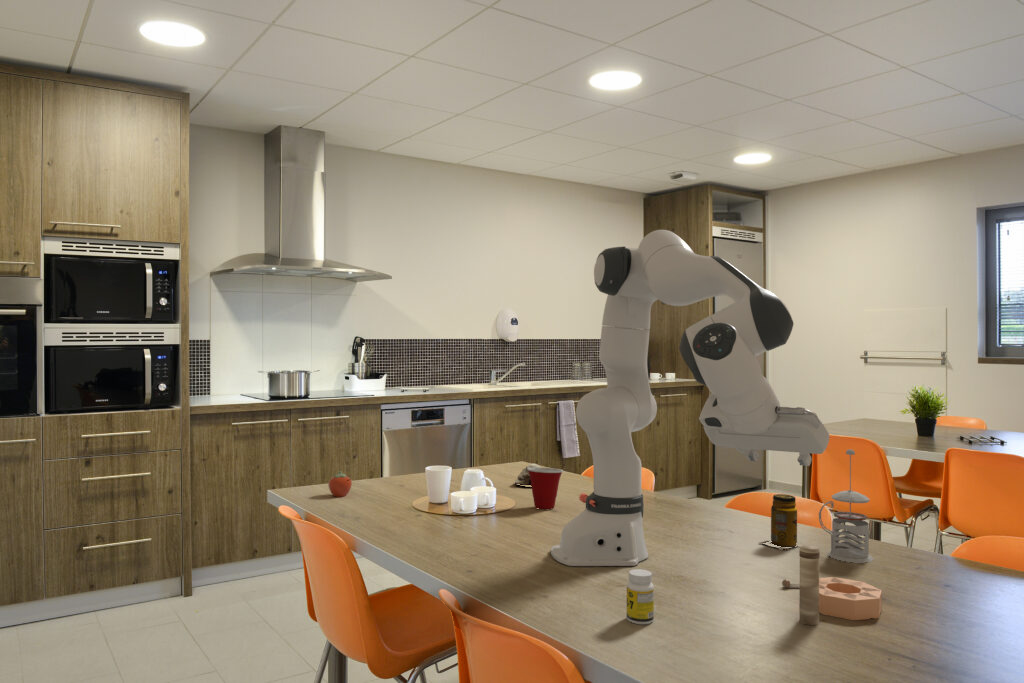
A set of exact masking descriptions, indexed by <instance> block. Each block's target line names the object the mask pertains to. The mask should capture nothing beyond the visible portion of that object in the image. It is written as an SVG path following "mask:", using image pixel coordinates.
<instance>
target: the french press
mask: <svg viewBox="0 0 1024 683" xmlns="http://www.w3.org/2000/svg"><path fill="white" fill-rule="evenodd" d="M845 454H846V455H849V489H848V490H841V491H839V492H836V493H834V494H832V495H831V498H832V500H835V501H838V502H841V503H842V502H843V503H848V504H849V511H836V512H833V516H834V517H835V518H833V519H832V522H831V527H832V528H831V530H830V529H828V528H827V527H826V526H825V525H824V523H823V520H822V512H823V509H824V507H825V506H827V505H829V504H830V507H831V509H833V508H834V506H835V505H834V504H835V503H834V501H832V500H830V501H827V502H826V503H824V504H823V505H822V506H821V508H820V509H819V511H818V521H819V525H820V526H821V528H822V529H823V530H824V531H825V532H826V533H828V534H829V535H830V550H829V552H827V553H828V555H827V557H829V556H830V557H831V559H832V558H834V559H833V560H835V559H837V560H836V561H839V560H841V561H840V562H844V561H846V562H845V563H850V562H855V563H854V564H866V563H865V562H869V563H872V562H873V561H872V560H874V557H873V556H871V555H870V554H869V552H870V551H869V550H870V547H869V542H870V541H869V538H870V537H869V536H870V535H869V533H870V532H869V531H870V530H869V527H870V526H869V522H867V521H866V520H867V519H868V516H867V515H866V514H864V513H863V514H862V513H860V512H854V511H852V509H851V508H852V504H866V503H869V502H870V500H871V499H870V498H869V497H868V496H866V495H865V494H862V493H860V492H857V491H854V490H852V489H851V488H852V463H851V462H852V455H853V456H855V454H856V452H855V450H853V449H852V448H851V449H846V452H845ZM845 523H846V524H845ZM847 523H849V525H848V524H847ZM850 524H852V525H850ZM841 530H842V531H841ZM842 535H843V536H842ZM840 541H841V542H840ZM863 542H864V543H863ZM830 557H829V558H830ZM871 561H872V562H871Z"/></svg>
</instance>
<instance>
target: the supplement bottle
mask: <svg viewBox="0 0 1024 683" xmlns="http://www.w3.org/2000/svg"><path fill="white" fill-rule="evenodd" d="M652 575H653V573H652V572H651V571H649V570H647V569H640V568H639V569H635V568H634V569H631V570H629V572H628V581H627V583H626V619H627V621H628V622H630V623H631V622H632V624H634V623H635V624H634V625H649V624H652V623H653V622H654V618H655V617H654V615H655V614H654V613H655V611H654V610H655V608H654V605H655V599H654V597H655V592H654V591H655V586H654V584H653V583H652V582H653V581H652V580H653V576H652ZM651 622H652V623H651Z"/></svg>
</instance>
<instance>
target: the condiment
mask: <svg viewBox="0 0 1024 683" xmlns="http://www.w3.org/2000/svg"><path fill="white" fill-rule="evenodd" d="M772 499H773V500H772V505H771V507H770V540H771V541H772V542H771V543H772V544H774V545H777V546H781V547H795V546H796V545H797V544H798V508H797V507H796V505H797V504H796V496H793V495H790V494H783V493H781V494H774V495H773V496H772ZM770 540H764V541H759V542H757V543H758V544H760V545H762V544H763V543H766V542H769V541H770ZM796 543H797V544H796ZM781 547H780V548H781ZM783 549H785V550H783ZM786 549H787V550H790V549H789V548H781V549H779V550H780V551H786Z"/></svg>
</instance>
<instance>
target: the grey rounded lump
mask: <svg viewBox="0 0 1024 683" xmlns="http://www.w3.org/2000/svg"><path fill="white" fill-rule="evenodd" d="M533 467H541V466H540V465H538V464H537V463H530V464H528V465H526V466H525V468H523V469H522V471H521V472H520V473H519V474H518V475H517V478H516V479H515V480H514V482H515V484H520V485H531V479H530V475H529V471H528V469H527V468H533ZM515 484H514V485H515Z"/></svg>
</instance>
